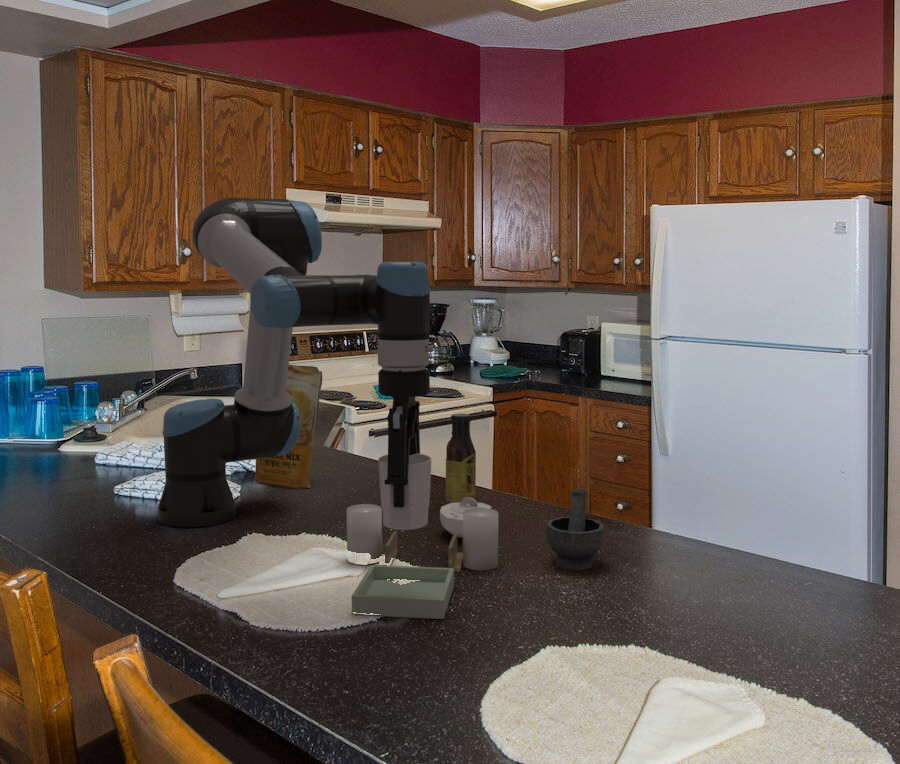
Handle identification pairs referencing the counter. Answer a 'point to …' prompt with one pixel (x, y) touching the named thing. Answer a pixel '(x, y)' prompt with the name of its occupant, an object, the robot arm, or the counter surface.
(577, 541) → the mortar and pestle
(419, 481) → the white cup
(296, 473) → the pancake mix bag
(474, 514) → the white pillar candle
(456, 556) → the rack
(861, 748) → the counter surface
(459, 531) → the cell model
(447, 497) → the sauce bottle
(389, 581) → the tray
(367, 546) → the grey tapered cylinder
